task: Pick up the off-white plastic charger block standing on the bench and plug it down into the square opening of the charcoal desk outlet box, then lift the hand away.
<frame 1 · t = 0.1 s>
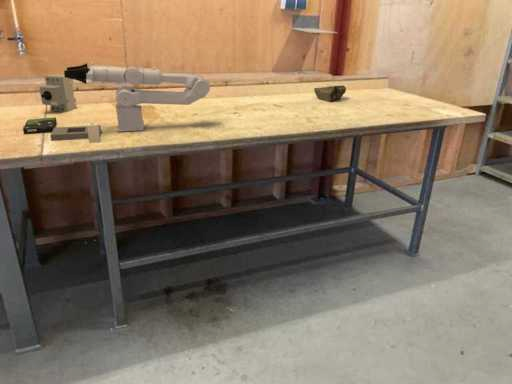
hand: (65, 72, 147), 22 cm above the table, fingers open, 7 cm apart
circuit breaker: (59, 111, 185), on the table
disk drive: (41, 130, 159), on the table
charger: (94, 140, 146), on the table
concrete fragment: (330, 99, 221), on the table
outlet plate: (77, 135, 151), on the table
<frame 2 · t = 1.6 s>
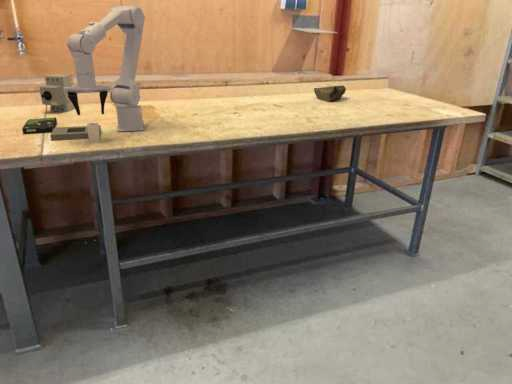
hand: (91, 114, 142), 9 cm above the table, fingers open, 7 cm apart
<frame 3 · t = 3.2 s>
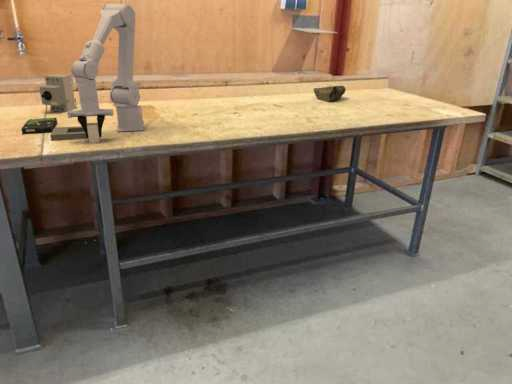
hand: (94, 136, 145), 1 cm above the table, fingers closed on charger, 3 cm apart
charger: (94, 140, 146), on the table, touching gripper
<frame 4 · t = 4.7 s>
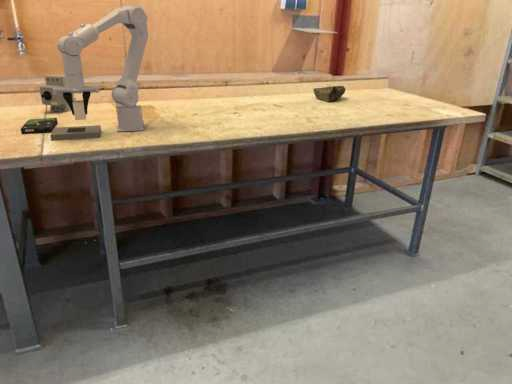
hand: (80, 114, 146), 8 cm above the table, fingers closed on charger, 3 cm apart
charger: (80, 118, 146), point 7 cm above the table, touching gripper
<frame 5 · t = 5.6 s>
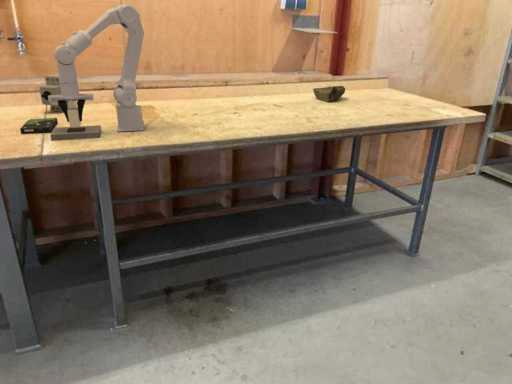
hand: (74, 121, 149), 5 cm above the table, fingers closed on charger, 3 cm apart
charger: (75, 125, 150), point 4 cm above the table, touching gripper
when the fingers open (3 cm above the table, at t = 6.4 s): charger drops 1 cm, resting on outlet plate.
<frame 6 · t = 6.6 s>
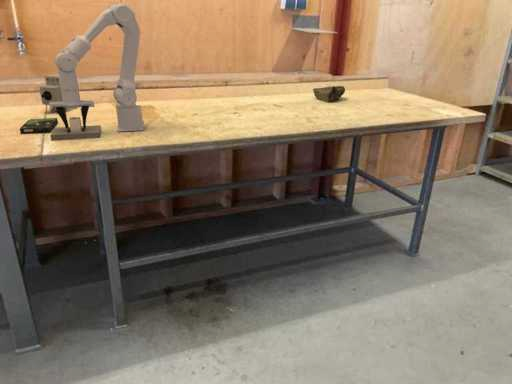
hand: (76, 127, 150), 3 cm above the table, fingers open, 5 cm apart
charger: (77, 134, 151), resting on outlet plate
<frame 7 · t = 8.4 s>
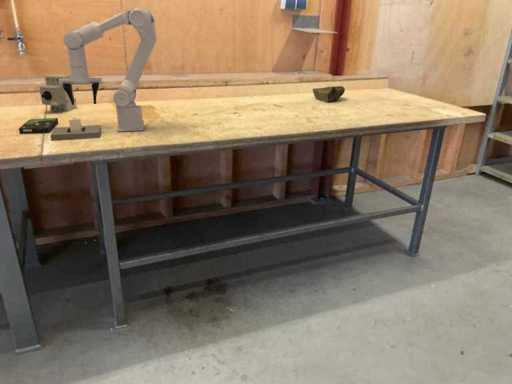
hand: (84, 103, 156), 9 cm above the table, fingers open, 7 cm apart
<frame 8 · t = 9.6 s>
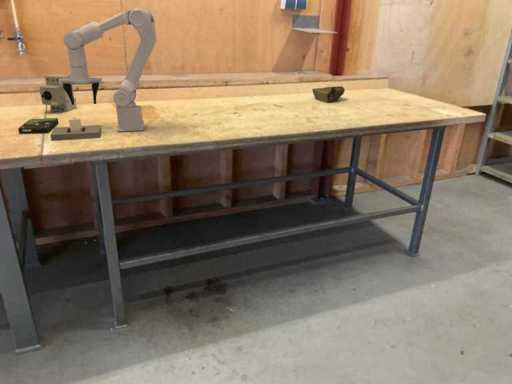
hand: (84, 103, 156), 9 cm above the table, fingers open, 7 cm apart
at the end: charger 0.2 cm off-centre on the outlet plate, point 0.3 cm above the outlet plate's base; charger tilted 0°; the gripper is holding nothing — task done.
